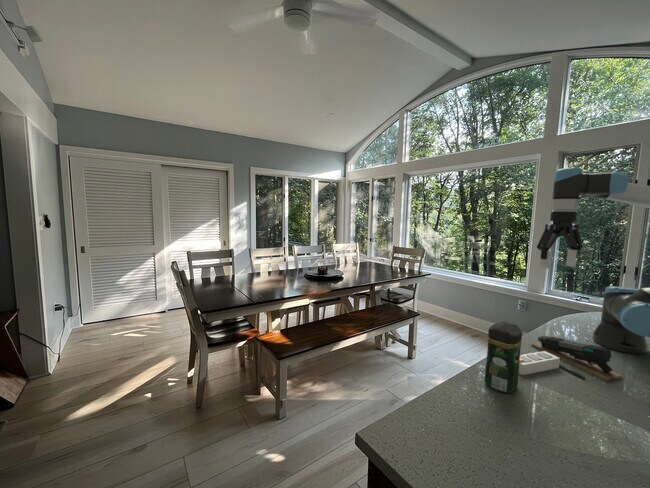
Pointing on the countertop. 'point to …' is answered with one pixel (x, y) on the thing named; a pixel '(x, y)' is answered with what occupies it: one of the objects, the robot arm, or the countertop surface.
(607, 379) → the walnut board
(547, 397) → the countertop surface
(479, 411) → the countertop surface
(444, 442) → the countertop surface
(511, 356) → the coffee jar
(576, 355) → the gun
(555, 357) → the power strip
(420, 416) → the countertop surface
